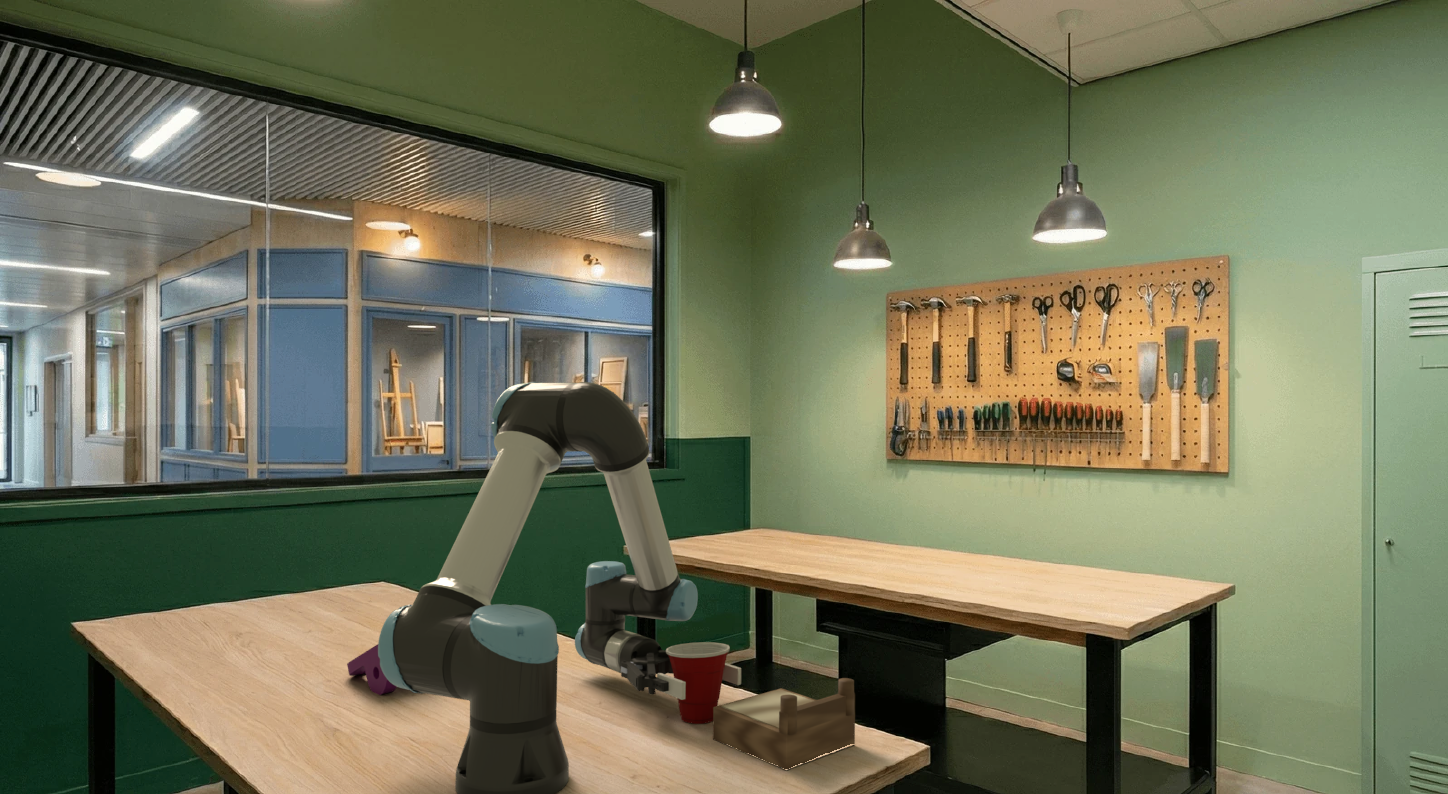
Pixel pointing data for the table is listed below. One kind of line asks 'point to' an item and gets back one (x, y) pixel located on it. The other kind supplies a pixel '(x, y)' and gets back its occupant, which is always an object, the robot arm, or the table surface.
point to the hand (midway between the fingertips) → (712, 683)
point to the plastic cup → (699, 677)
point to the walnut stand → (788, 724)
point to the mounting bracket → (371, 671)
